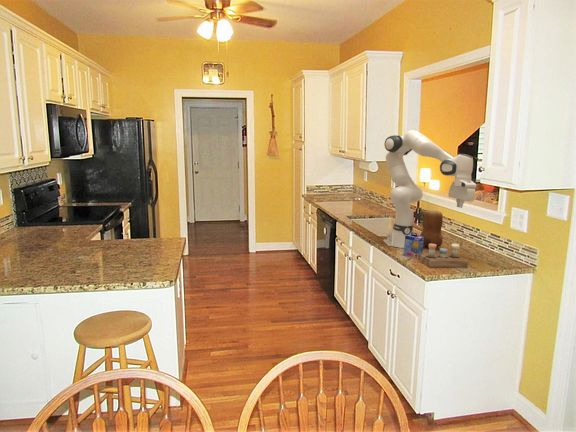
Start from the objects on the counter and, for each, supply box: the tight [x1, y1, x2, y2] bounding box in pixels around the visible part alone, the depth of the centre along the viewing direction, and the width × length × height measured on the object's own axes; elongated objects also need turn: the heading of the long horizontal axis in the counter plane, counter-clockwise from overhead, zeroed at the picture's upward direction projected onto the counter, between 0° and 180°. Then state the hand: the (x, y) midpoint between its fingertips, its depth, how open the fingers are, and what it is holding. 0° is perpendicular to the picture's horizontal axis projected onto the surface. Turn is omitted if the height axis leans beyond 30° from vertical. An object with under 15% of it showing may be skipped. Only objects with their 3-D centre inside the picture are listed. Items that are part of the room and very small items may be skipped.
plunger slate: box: [439, 247, 448, 258], centre depth 240 cm, size 4×4×7 cm
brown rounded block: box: [419, 209, 444, 249], centre depth 277 cm, size 14×13×25 cm
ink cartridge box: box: [403, 231, 424, 259], centre depth 255 cm, size 10×6×14 cm, turn 51°
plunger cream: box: [450, 243, 460, 257], centre depth 241 cm, size 4×4×7 cm
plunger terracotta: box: [427, 243, 437, 257], centre depth 239 cm, size 4×4×7 cm
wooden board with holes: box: [417, 253, 469, 269], centre depth 241 cm, size 14×22×4 cm, turn 101°
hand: (459, 207), depth 246 cm, fingers closed
